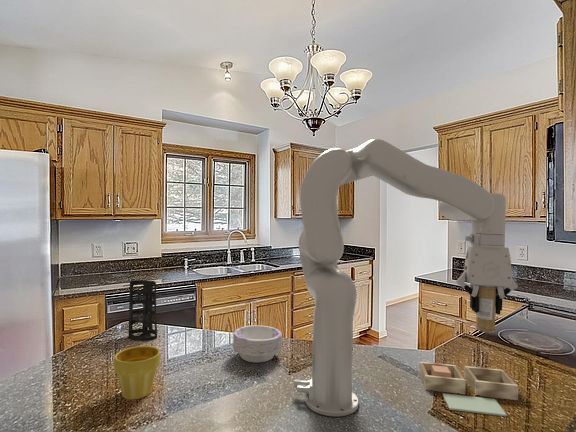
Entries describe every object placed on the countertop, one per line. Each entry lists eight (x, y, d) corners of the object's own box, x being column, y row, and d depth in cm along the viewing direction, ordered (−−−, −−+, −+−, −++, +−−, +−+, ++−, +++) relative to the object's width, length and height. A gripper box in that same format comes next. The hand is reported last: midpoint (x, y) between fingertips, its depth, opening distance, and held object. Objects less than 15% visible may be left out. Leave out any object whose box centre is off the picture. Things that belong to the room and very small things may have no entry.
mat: (449, 409, 80) (449, 407, 80) (442, 394, 87) (442, 393, 87) (506, 416, 78) (506, 414, 78) (494, 400, 85) (494, 399, 85)
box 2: (475, 395, 87) (475, 381, 87) (464, 378, 97) (464, 365, 97) (518, 400, 85) (518, 385, 85) (502, 382, 95) (502, 369, 95)
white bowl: (290, 360, 107) (291, 334, 107) (246, 371, 98) (247, 343, 98) (265, 345, 119) (266, 322, 120) (224, 353, 111) (225, 329, 111)
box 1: (425, 389, 90) (425, 376, 90) (419, 373, 99) (419, 361, 99) (465, 394, 88) (465, 380, 88) (455, 377, 97) (455, 365, 97)
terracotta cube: (434, 386, 92) (434, 371, 92) (431, 379, 96) (431, 365, 96) (450, 388, 91) (450, 373, 91) (446, 381, 95) (447, 366, 95)
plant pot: (130, 409, 78) (131, 365, 78) (104, 396, 83) (105, 355, 83) (168, 390, 87) (169, 351, 87) (142, 379, 92) (143, 342, 92)
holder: (122, 340, 121) (124, 283, 121) (132, 333, 129) (133, 279, 129) (154, 341, 121) (155, 283, 121) (162, 334, 129) (163, 280, 129)
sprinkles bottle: (498, 331, 88) (500, 278, 89) (489, 334, 86) (491, 280, 86) (480, 326, 92) (482, 276, 92) (471, 329, 90) (473, 277, 90)
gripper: (456, 240, 87) (454, 313, 87) (531, 243, 84) (529, 319, 84) (448, 239, 95) (446, 306, 94) (517, 242, 91) (515, 311, 91)
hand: (485, 311), depth 89 cm, fingers closed on sprinkles bottle, 4 cm apart
